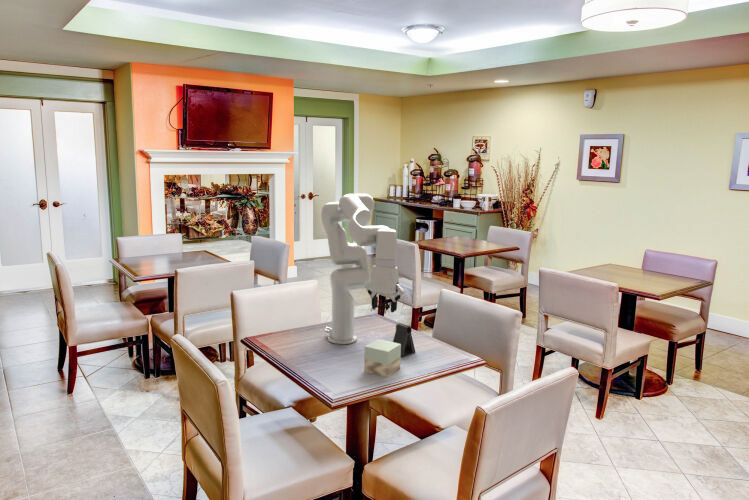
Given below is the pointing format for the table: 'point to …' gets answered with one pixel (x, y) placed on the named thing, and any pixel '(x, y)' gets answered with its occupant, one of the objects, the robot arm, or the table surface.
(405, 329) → the phone stand
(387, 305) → the creature
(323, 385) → the table surface
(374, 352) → the tower top
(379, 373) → the tower base
